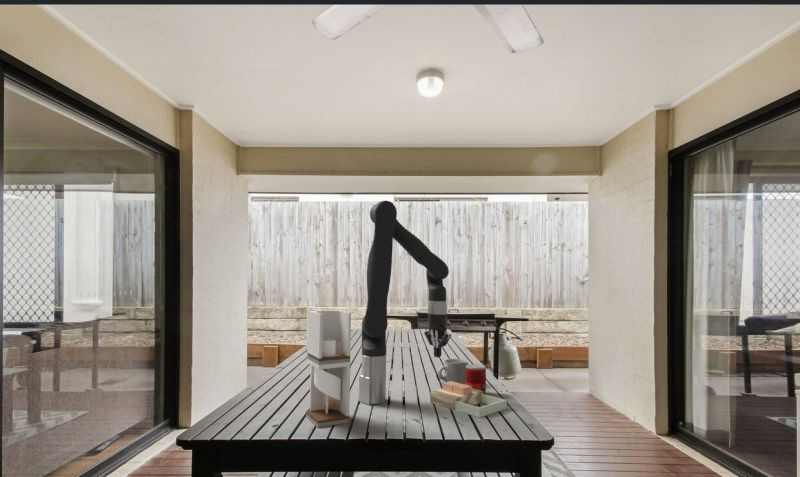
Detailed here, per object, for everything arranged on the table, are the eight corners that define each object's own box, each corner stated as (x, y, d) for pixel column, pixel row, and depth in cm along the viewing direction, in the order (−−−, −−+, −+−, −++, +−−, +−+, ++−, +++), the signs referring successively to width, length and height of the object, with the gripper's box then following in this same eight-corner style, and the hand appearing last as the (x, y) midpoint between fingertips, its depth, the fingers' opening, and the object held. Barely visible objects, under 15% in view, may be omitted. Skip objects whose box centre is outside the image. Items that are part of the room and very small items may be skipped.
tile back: (452, 392, 172) (452, 385, 172) (442, 389, 175) (442, 383, 176) (461, 390, 175) (461, 383, 175) (451, 387, 179) (451, 381, 179)
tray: (479, 417, 155) (479, 408, 156) (455, 410, 163) (455, 401, 164) (506, 408, 166) (506, 400, 166) (482, 402, 174) (482, 393, 174)
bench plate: (454, 410, 163) (454, 398, 164) (430, 402, 172) (430, 391, 172) (482, 401, 174) (482, 391, 174) (458, 395, 183) (458, 384, 183)
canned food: (485, 397, 181) (485, 368, 182) (465, 395, 182) (465, 367, 183) (486, 392, 188) (486, 364, 189) (466, 390, 190) (466, 363, 191)
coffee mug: (463, 381, 206) (463, 358, 207) (470, 387, 196) (470, 363, 197) (434, 382, 204) (434, 359, 204) (440, 388, 194) (440, 363, 194)
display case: (306, 417, 154) (308, 311, 156) (336, 412, 159) (338, 310, 161) (317, 427, 144) (320, 314, 146) (349, 422, 149) (351, 312, 151)
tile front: (463, 395, 168) (463, 388, 168) (452, 392, 171) (452, 385, 172) (472, 393, 171) (472, 386, 171) (461, 390, 175) (461, 383, 175)
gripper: (418, 311, 185) (418, 355, 184) (443, 314, 175) (443, 360, 174) (432, 310, 190) (432, 353, 189) (456, 313, 180) (456, 358, 179)
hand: (437, 357), depth 181 cm, fingers closed
